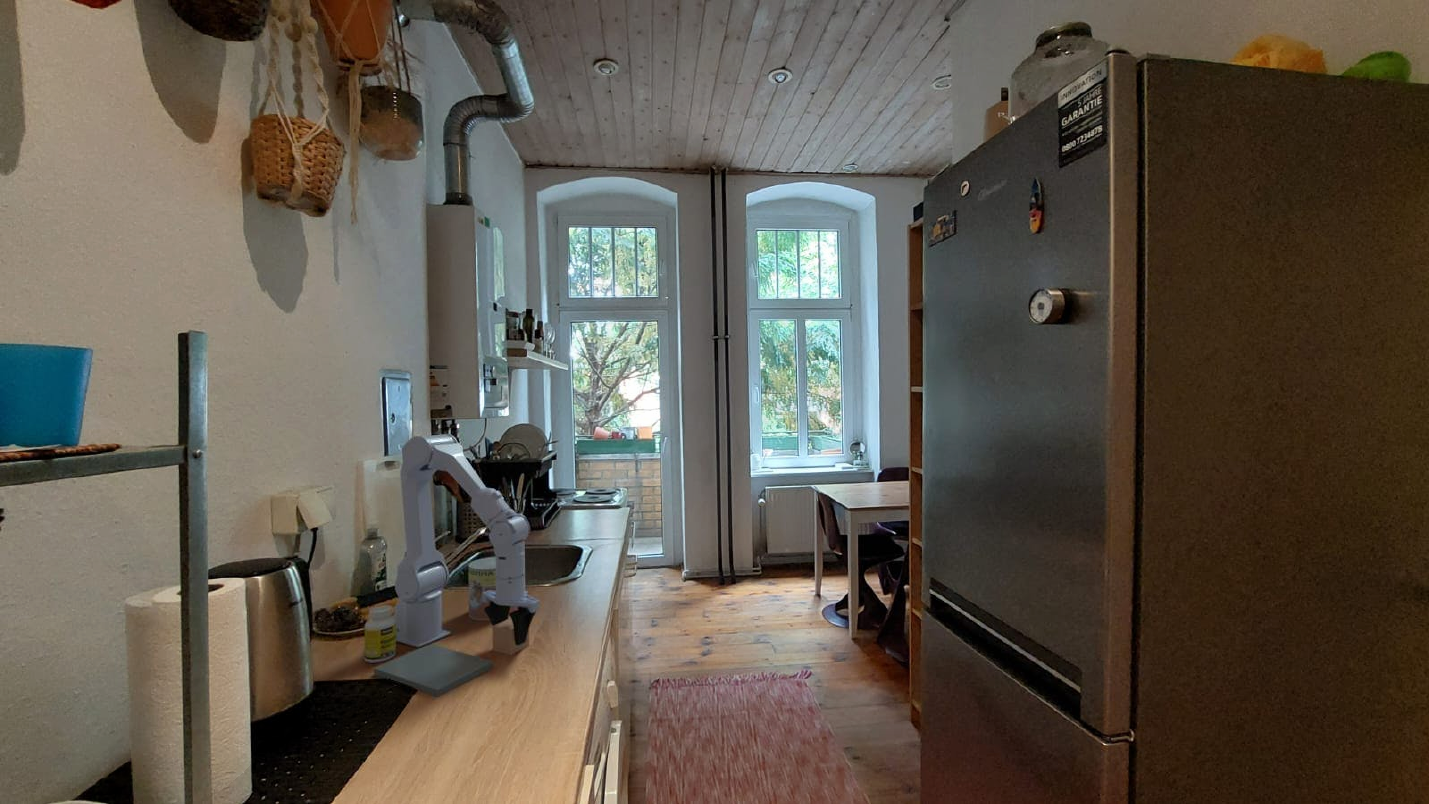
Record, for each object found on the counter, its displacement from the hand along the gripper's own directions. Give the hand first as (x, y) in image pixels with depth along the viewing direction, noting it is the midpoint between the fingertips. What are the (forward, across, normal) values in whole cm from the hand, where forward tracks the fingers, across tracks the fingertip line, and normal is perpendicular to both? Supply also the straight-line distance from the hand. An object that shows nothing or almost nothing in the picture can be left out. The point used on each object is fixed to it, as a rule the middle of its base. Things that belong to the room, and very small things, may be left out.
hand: (511, 640), depth 118 cm
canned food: (+2, +20, -13) cm, 24 cm away
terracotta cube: (+1, 0, 0) cm, 1 cm away
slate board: (+1, +5, +14) cm, 15 cm away
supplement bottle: (+2, +20, +15) cm, 25 cm away
